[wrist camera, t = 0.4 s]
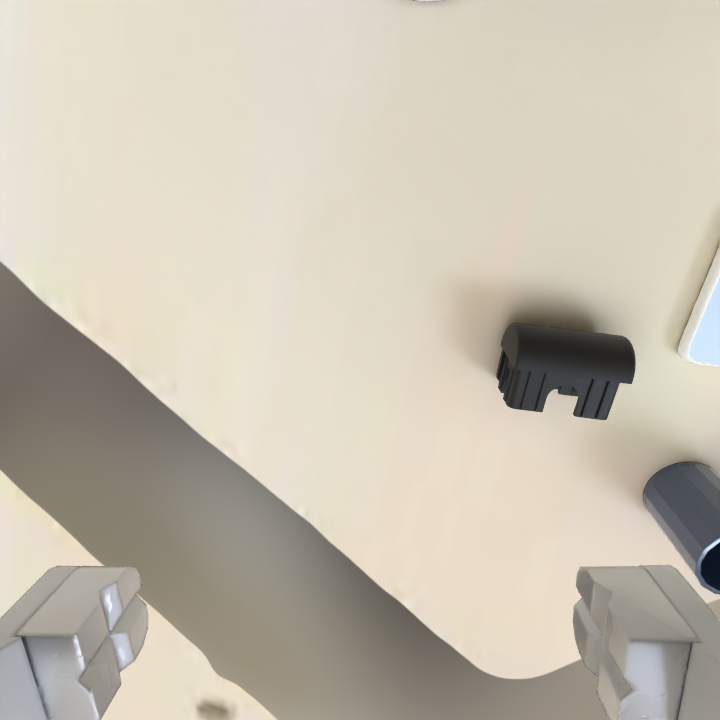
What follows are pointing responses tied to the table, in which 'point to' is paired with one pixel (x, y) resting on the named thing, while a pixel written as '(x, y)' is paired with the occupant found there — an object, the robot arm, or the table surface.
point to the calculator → (704, 322)
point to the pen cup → (689, 516)
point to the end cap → (563, 367)
